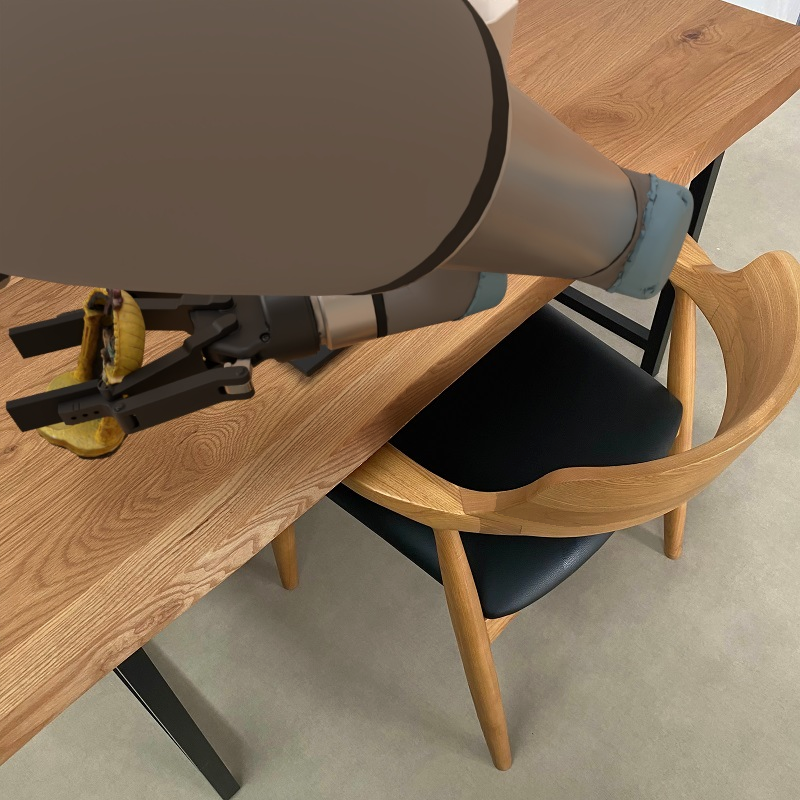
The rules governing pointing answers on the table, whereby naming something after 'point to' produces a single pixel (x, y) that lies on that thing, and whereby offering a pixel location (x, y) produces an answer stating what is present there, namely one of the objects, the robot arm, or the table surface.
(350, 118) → the robot arm
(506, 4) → the cup
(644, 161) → the table surface
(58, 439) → the yellow ribbed rounded piece
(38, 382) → the table surface
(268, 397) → the table surface
